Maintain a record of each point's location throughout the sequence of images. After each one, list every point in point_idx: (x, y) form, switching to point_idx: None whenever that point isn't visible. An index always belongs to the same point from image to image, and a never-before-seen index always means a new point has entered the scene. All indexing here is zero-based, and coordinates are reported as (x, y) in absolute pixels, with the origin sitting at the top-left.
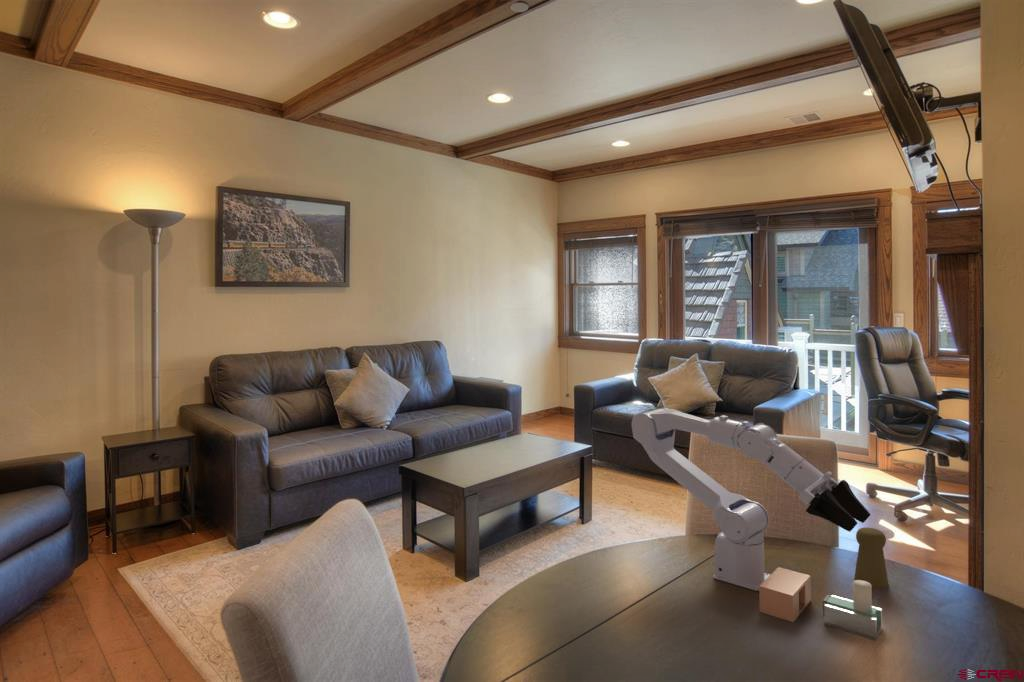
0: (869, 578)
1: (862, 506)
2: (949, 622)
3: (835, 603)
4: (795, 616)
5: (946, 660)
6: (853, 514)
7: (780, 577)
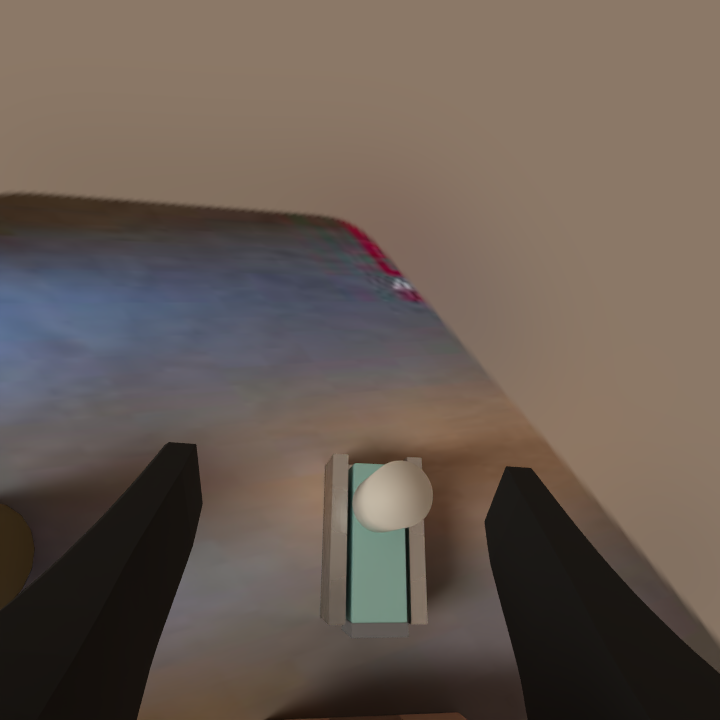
0: (11, 557)
1: (160, 494)
2: (179, 322)
3: (403, 590)
4: (438, 716)
5: (389, 323)
6: (173, 576)
7: None
